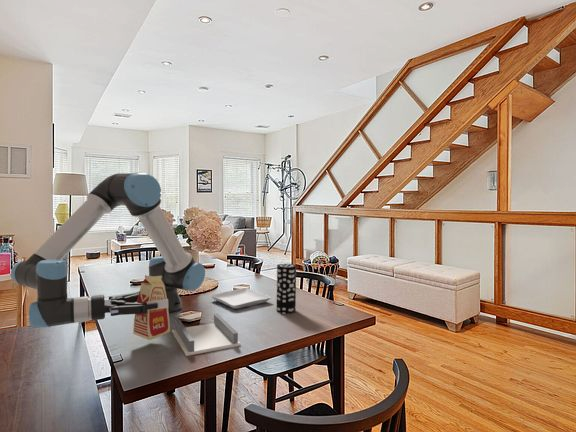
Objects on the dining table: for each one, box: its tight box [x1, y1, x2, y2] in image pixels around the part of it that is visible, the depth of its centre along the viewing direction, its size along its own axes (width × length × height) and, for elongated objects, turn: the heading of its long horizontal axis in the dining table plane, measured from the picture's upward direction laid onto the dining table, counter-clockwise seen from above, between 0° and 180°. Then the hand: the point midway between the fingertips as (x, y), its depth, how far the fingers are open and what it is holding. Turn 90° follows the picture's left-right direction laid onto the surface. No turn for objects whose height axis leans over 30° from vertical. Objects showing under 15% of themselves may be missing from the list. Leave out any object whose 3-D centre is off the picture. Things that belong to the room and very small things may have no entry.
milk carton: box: [132, 274, 171, 341], centre depth 123 cm, size 9×9×20 cm
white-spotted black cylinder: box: [276, 263, 297, 315], centre depth 160 cm, size 8×8×20 cm
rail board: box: [171, 313, 242, 357], centre depth 129 cm, size 22×18×4 cm
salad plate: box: [210, 287, 272, 310], centre depth 173 cm, size 21×21×3 cm
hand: (165, 299), depth 124 cm, fingers closed on milk carton, 10 cm apart
